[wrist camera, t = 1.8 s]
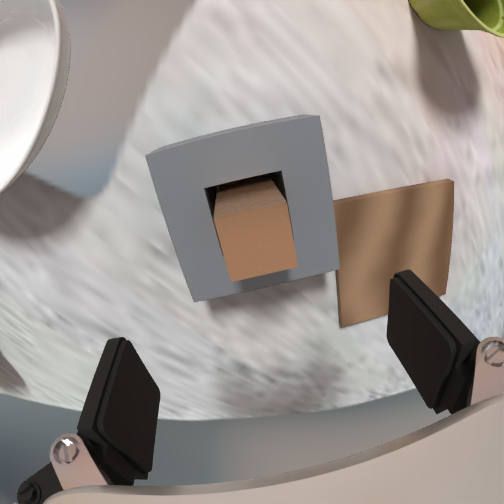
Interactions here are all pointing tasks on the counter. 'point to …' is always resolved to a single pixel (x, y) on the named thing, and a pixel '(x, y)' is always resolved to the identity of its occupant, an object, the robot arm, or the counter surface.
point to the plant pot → (462, 14)
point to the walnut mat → (391, 244)
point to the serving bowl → (30, 79)
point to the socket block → (240, 167)
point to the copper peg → (254, 228)
